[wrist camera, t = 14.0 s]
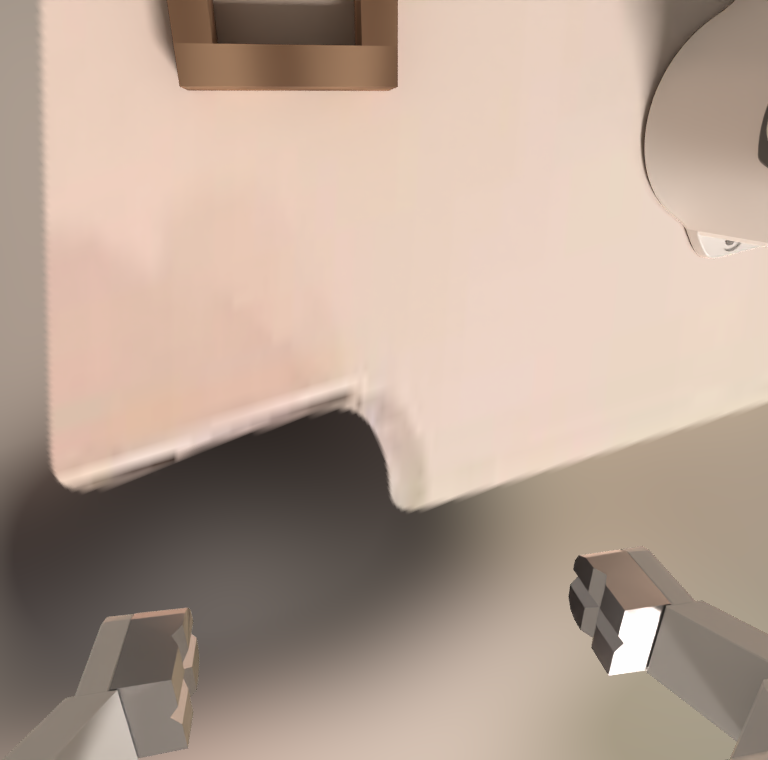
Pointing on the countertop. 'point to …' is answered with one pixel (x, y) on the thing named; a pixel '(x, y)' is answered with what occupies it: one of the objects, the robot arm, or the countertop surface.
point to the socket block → (286, 54)
